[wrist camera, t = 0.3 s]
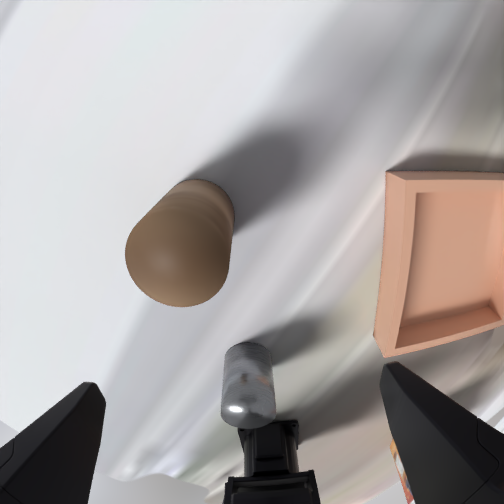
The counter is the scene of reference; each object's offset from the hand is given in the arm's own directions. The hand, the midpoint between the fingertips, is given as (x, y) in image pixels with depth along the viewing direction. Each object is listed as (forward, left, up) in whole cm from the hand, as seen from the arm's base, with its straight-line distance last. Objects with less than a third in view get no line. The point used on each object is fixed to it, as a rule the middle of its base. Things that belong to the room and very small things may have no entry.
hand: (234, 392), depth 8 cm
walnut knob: (+1, +3, -14) cm, 14 cm away
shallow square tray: (-4, -17, -14) cm, 22 cm away
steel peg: (-12, +1, -14) cm, 18 cm away
